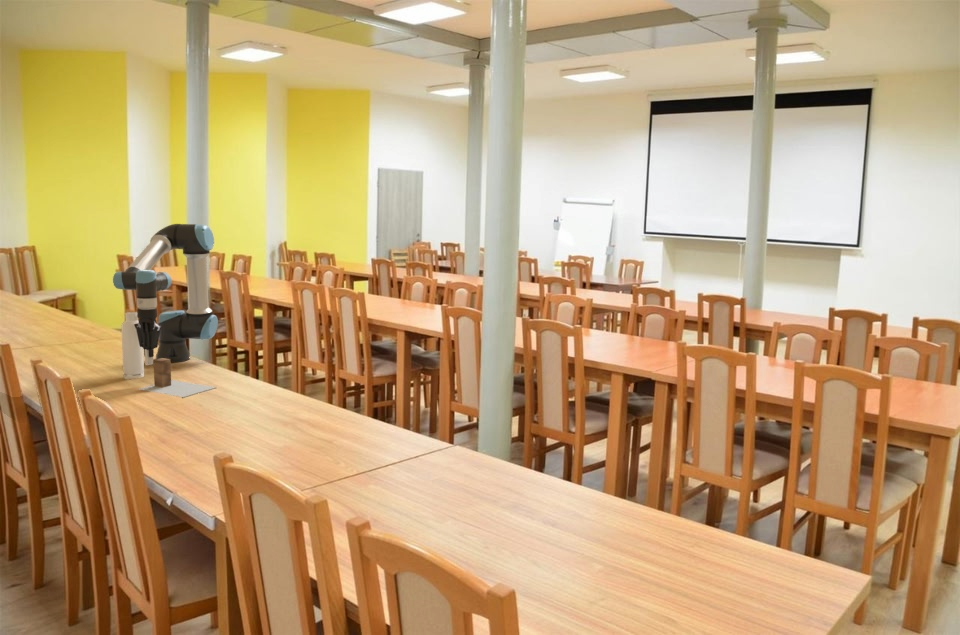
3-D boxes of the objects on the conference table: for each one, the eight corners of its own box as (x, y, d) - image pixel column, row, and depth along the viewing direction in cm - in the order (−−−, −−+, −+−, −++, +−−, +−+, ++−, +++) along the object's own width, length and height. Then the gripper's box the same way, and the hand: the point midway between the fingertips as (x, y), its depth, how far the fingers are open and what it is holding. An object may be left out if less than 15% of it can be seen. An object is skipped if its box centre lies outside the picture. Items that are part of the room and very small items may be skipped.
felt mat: (172, 380, 320) (172, 380, 320) (216, 388, 310) (216, 387, 310) (137, 390, 304) (137, 389, 303) (182, 398, 294) (182, 397, 294)
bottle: (138, 379, 320) (136, 314, 316) (120, 379, 320) (117, 314, 316) (147, 375, 328) (145, 311, 324) (129, 374, 328) (126, 311, 324)
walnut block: (163, 383, 313) (162, 357, 311) (171, 385, 311) (170, 359, 309) (154, 386, 309) (153, 359, 307) (162, 387, 307) (161, 361, 305)
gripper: (128, 307, 307) (130, 364, 311) (151, 310, 302) (153, 368, 305) (143, 305, 314) (145, 361, 317) (166, 308, 309) (168, 364, 312)
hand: (149, 364), depth 311 cm, fingers closed
